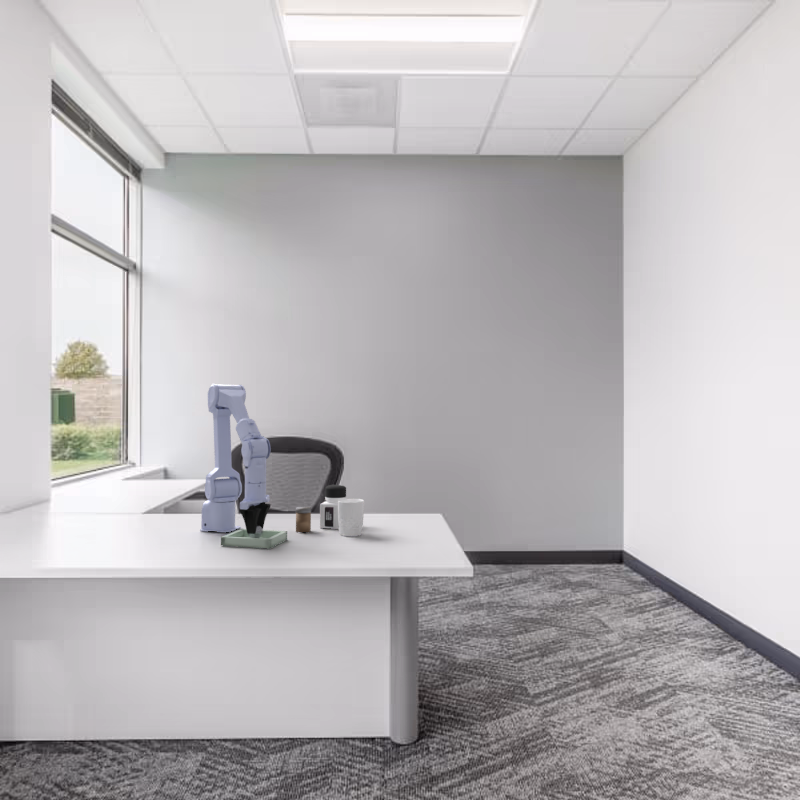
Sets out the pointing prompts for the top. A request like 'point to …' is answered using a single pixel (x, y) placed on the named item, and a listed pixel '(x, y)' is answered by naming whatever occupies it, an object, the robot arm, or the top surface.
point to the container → (331, 506)
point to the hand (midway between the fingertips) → (254, 531)
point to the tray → (254, 539)
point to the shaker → (303, 519)
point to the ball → (257, 532)
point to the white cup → (350, 516)
